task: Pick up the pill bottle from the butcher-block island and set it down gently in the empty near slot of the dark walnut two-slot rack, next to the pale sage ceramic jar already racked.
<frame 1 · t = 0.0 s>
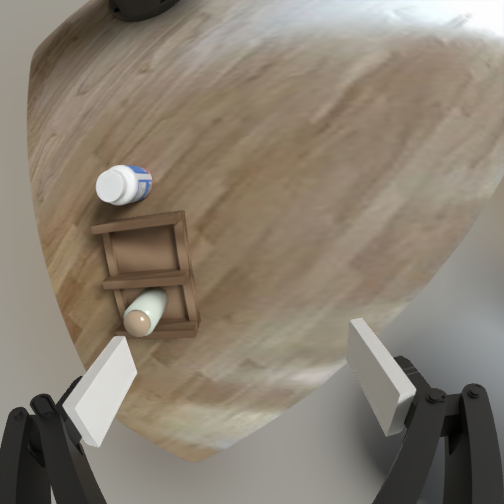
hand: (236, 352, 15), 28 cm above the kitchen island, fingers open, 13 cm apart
jar: (155, 298, 43), point 1 cm above the kitchen island, touching rack
rack: (152, 271, 43), on the kitchen island
pill bottle: (137, 184, 40), on the kitchen island
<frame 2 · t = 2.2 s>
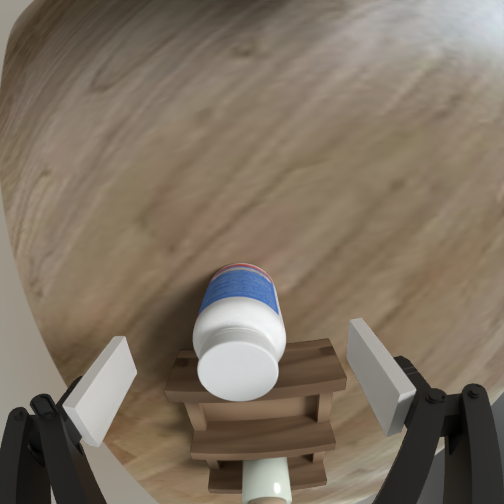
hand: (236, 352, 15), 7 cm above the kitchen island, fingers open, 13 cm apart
jar: (264, 444, 25), point 1 cm above the kitchen island, touching rack
rack: (261, 414, 26), on the kitchen island
pill bottle: (241, 293, 22), on the kitchen island
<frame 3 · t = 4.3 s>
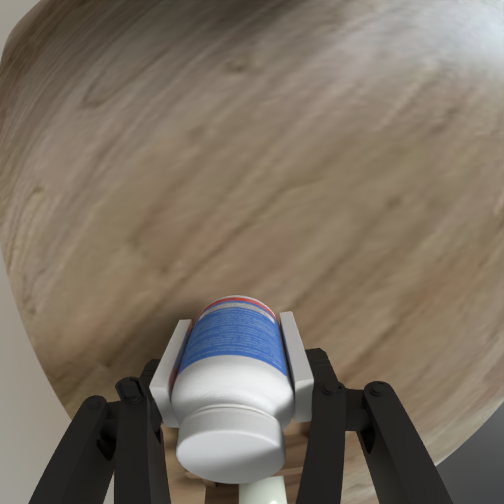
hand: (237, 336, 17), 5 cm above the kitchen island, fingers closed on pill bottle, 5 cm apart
jar: (260, 462, 24), point 1 cm above the kitchen island, touching rack
rack: (256, 433, 24), on the kitchen island
pill bottle: (237, 331, 17), point 4 cm above the kitchen island, touching gripper
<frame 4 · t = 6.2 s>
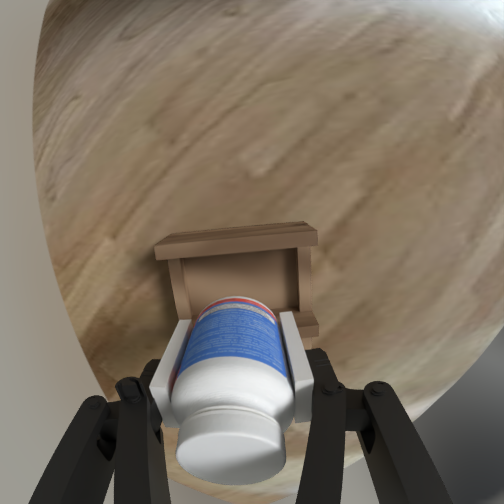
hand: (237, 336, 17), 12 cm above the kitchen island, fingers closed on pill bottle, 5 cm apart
rack: (245, 311, 30), on the kitchen island
pill bottle: (237, 331, 17), point 12 cm above the kitchen island, touching gripper
when the fingers open (3 cm above the kitchen island, at t = 8.0 s): pill bottle drops 1 cm, resting on rack.
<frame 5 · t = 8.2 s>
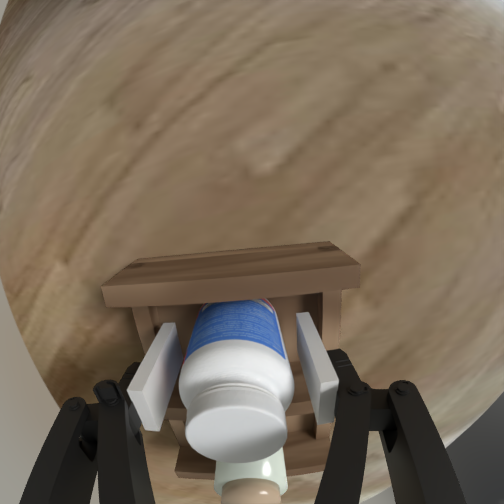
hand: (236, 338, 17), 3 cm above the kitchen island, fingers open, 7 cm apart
jar: (249, 410, 20), point 1 cm above the kitchen island, touching rack
rack: (244, 363, 21), on the kitchen island
pill bottle: (237, 322, 19), point 1 cm above the kitchen island, touching rack
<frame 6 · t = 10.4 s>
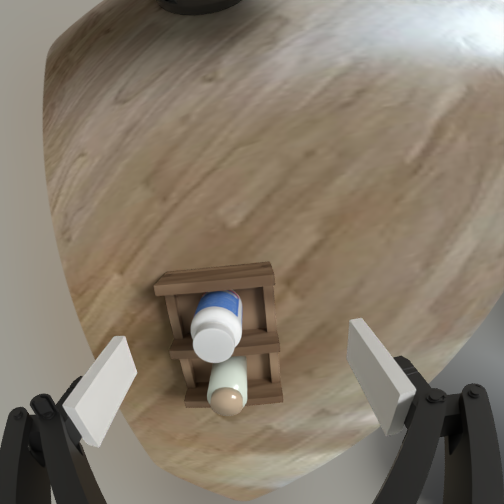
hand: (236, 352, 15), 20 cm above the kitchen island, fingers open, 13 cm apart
jar: (230, 361, 37), point 1 cm above the kitchen island, touching rack
rack: (226, 330, 37), on the kitchen island
pill bottle: (221, 305, 35), point 1 cm above the kitchen island, touching rack
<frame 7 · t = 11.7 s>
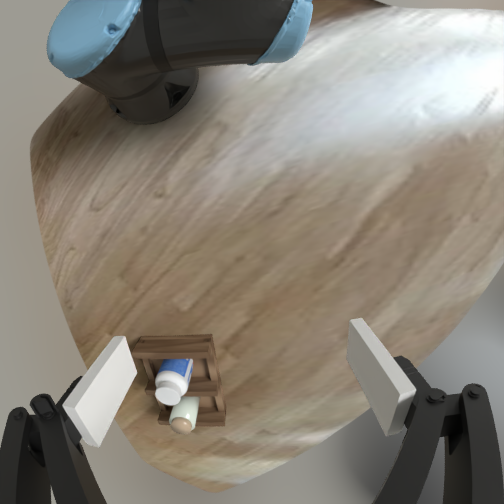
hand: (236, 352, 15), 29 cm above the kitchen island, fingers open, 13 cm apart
jar: (189, 394, 48), point 1 cm above the kitchen island, touching rack
rack: (185, 375, 49), on the kitchen island
pill bottle: (179, 360, 47), point 1 cm above the kitchen island, touching rack
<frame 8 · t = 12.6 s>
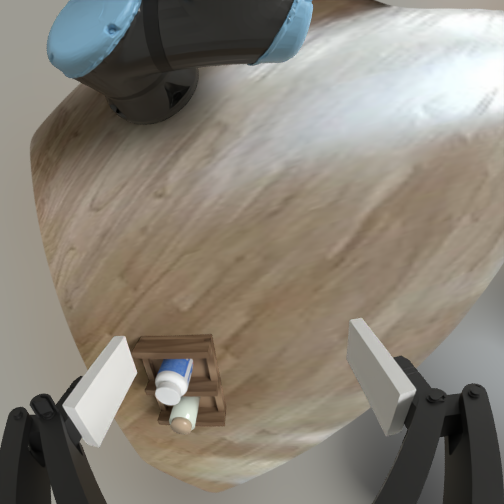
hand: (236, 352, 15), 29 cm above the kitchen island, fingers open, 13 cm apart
jar: (188, 394, 48), point 1 cm above the kitchen island, touching rack
rack: (185, 375, 49), on the kitchen island
pill bottle: (179, 360, 47), point 1 cm above the kitchen island, touching rack
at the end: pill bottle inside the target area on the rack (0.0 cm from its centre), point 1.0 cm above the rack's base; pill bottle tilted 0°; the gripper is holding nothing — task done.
